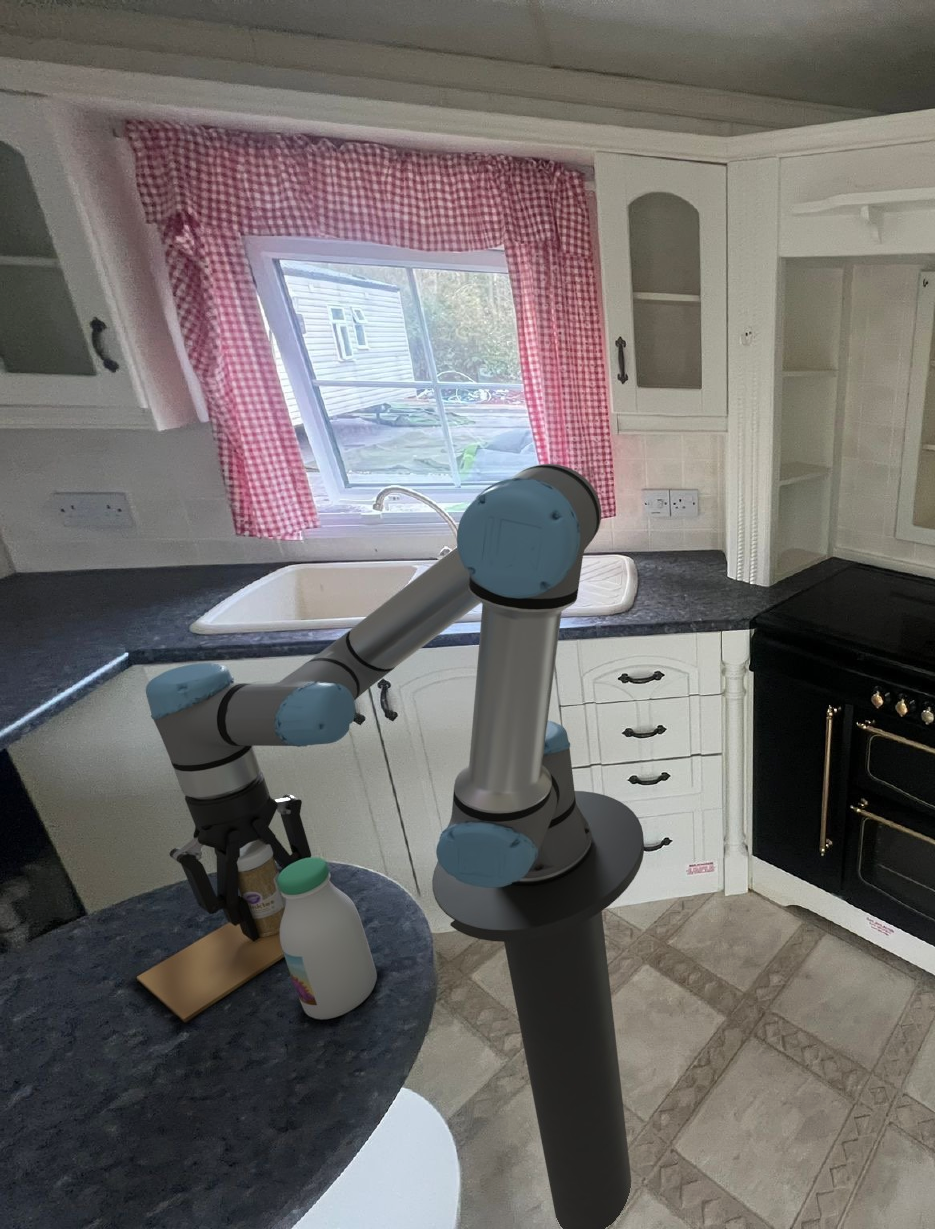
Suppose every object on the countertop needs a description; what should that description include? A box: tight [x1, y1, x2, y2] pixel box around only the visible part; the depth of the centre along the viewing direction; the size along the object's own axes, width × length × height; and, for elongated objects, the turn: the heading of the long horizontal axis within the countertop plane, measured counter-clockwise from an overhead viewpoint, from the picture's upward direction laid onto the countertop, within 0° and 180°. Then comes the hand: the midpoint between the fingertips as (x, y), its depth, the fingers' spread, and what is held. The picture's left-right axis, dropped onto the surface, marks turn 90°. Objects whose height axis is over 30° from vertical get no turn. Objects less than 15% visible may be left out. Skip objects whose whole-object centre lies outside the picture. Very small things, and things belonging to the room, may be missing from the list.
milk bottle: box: [277, 856, 378, 1020], centre depth 79 cm, size 8×8×20 cm
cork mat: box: [136, 921, 285, 1023], centre depth 87 cm, size 16×12×1 cm
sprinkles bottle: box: [237, 840, 286, 937], centre depth 88 cm, size 5×5×13 cm
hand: (273, 921), depth 91 cm, fingers closed on sprinkles bottle, 4 cm apart
